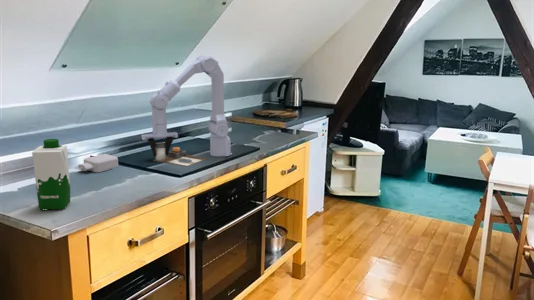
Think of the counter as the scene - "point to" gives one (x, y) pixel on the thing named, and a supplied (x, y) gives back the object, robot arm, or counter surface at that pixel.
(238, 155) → the counter surface
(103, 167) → the charger
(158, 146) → the salt shaker
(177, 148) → the button
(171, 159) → the board
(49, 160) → the milk carton
